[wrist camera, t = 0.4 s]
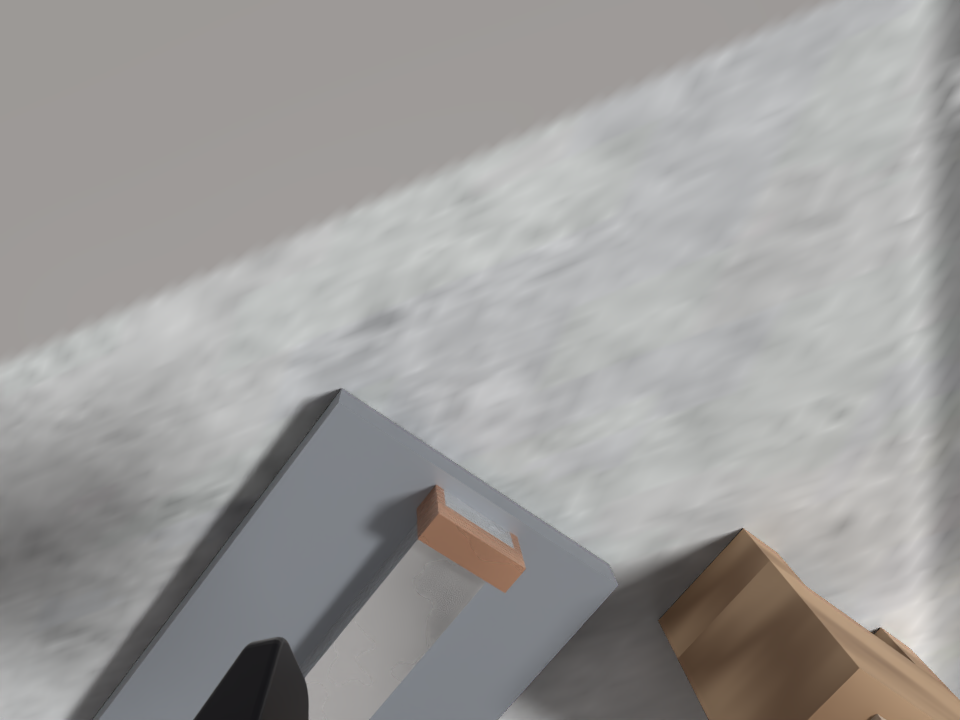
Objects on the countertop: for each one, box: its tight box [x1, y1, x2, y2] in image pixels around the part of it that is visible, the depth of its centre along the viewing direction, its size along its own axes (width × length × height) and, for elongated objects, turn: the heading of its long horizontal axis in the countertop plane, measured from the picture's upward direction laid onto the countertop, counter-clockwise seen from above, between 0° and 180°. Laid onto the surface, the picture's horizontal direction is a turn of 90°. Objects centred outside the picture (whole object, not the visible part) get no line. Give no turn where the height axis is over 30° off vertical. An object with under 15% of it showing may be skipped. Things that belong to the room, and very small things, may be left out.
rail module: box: [658, 528, 960, 720], centre depth 24 cm, size 4×9×7 cm, turn 52°
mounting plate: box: [93, 389, 618, 720], centre depth 25 cm, size 17×11×1 cm, turn 142°
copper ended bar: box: [300, 485, 526, 720], centre depth 24 cm, size 16×3×2 cm, turn 142°
